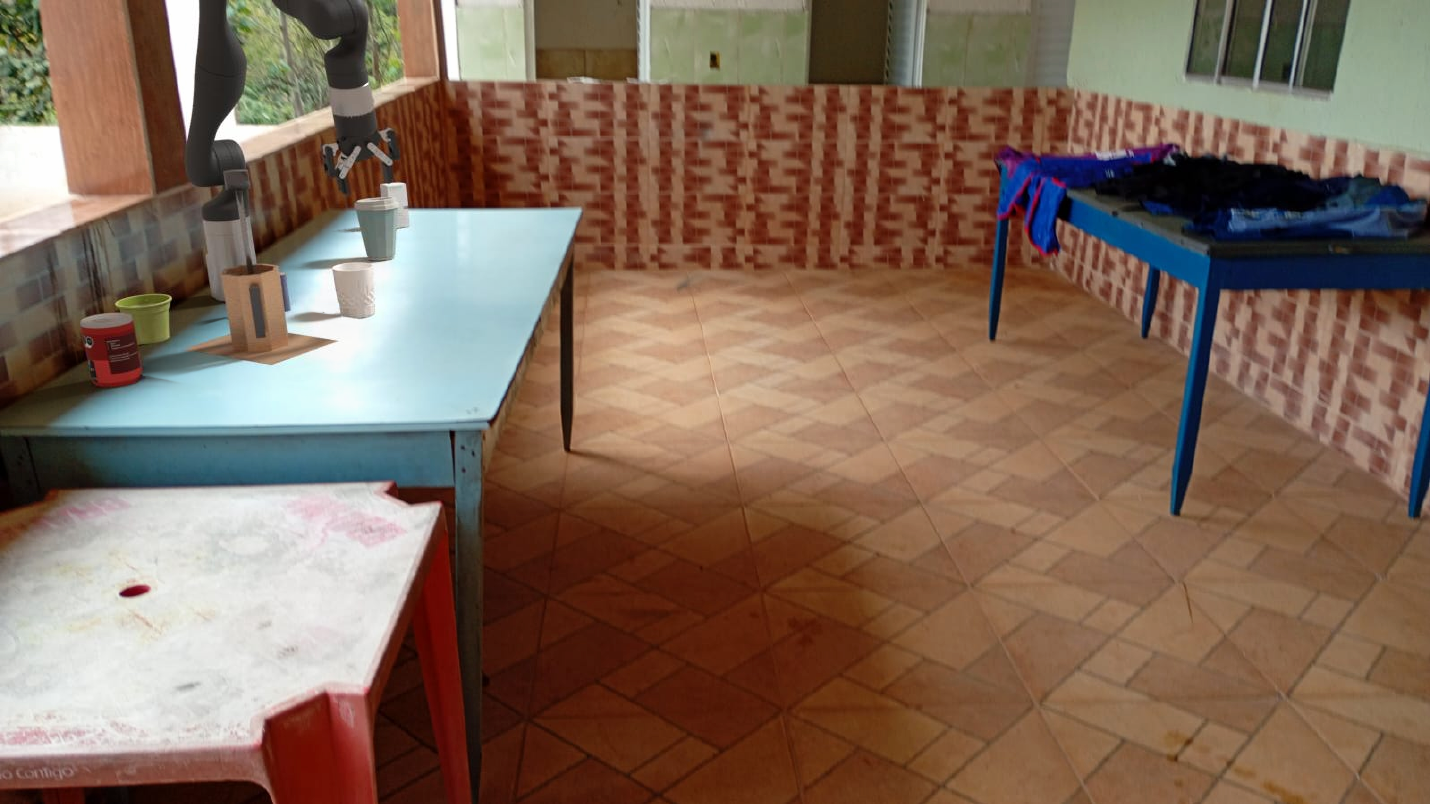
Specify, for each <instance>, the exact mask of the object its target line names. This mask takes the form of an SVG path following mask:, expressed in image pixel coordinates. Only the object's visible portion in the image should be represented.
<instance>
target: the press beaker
mask: <svg viewBox="0 0 1430 804" xmlns="http://www.w3.org/2000/svg"><path fill="white" fill-rule="evenodd" d="M253 271H254V274H252V275H248V271H247V265H239V266H235V267H231V268H227V269H223V271H222V274H221V276H222V282H223V288H224V295H225V301H224V302H225V306H226V312H227V313H226V314H227V319H228V325H229V331H230V333H229V334H231V339H232V346H233V350H234V351H240V352H246V353H255V352H265V351H273V350H276V349H279V348H282V347H285V346H287V345H288V344H289V337H288V333H289V331H288V325H287V318H286V312H285V309H284V302H283V294H282V287H281V280H280V273H279V272H280V267H279V265H277V264H268V263H256V264H253Z"/></svg>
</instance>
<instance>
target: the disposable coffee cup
mask: <svg viewBox="0 0 1430 804" xmlns="http://www.w3.org/2000/svg"><path fill="white" fill-rule="evenodd" d="M398 207H399V203H398V202H397V201H396V197H381V196H380V197H371V198H364V199H359V200H356V202H354V207H353V208H354V210H355V213H356V216H357V217H356V218H357V221H358V226H359V229H360V234H361V238H362V241H363V246H364V249H365V253H366V256H367V259H368V260H369V261H377V262H378V261H379V262H380V261H390V260H393V259H394V258H395V255H396V252H397V251H396V248H397V233H398V231H397V230H398V228H397V218H398Z"/></svg>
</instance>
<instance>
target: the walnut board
mask: <svg viewBox="0 0 1430 804" xmlns="http://www.w3.org/2000/svg"><path fill="white" fill-rule="evenodd" d="M288 337H289V344H288V345H287V346H285V347H282V348H279V349H276V350H273V351H265V352H255V353H246V352H240V351H234V350H233V346H232V339H231V333H229V334H225V335H223V336H222V335H221V336H219V337H216V338H214V339H209V340H207V341H204V342H200V343H197V344H194V345H191V346H187V347H185V348H183V350H185V351H191V352H196V353H202V354H207V355H213V356H219V357H224V358H230V359H236V360H240V361H241V360H242V361H248V362H252V363H258V364H263V365H268V366H269V365H270V366H273V365H276V364H278V363H282V362H284V361H287V360H289V359H292V358H295V357H298V356H301V355H303V354H306V353H310V352H312V351H314V350H317V349H320V348H323V347H326V346H329V345H331V344H334V343H336V342H338V339H337V340H336V339H331V338H323V337H318V336H311V335H305V334H300V333H292V332H288Z"/></svg>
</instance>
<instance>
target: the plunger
mask: <svg viewBox="0 0 1430 804" xmlns="http://www.w3.org/2000/svg"><path fill="white" fill-rule="evenodd" d="M223 173H224V180H225V186H226V190H235V191H236V197H237V204H238V211H239V217H240V224H241V231H242V238H243V244H244V251H245V258H246V264H247V271H248V275H252V274H254V271H253V264H252V257H251V250H250V244H249V237H248V230H247V223H246V216H245V210H244V203H243V196H242V190H246V189H248V190H249V189H251V182H250V177H249V176H250V175H249V170H248V169H246V170H228V171H224V172H223Z"/></svg>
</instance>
